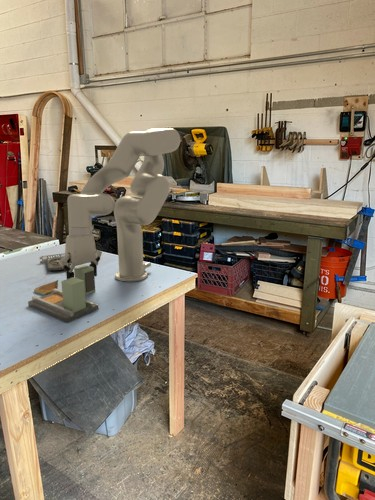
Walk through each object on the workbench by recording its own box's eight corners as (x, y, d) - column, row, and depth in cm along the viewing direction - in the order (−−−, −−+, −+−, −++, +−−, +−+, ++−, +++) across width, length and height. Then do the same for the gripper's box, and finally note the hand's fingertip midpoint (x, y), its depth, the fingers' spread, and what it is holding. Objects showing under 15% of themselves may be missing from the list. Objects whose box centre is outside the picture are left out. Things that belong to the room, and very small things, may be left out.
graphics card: (39, 255, 165) (67, 252, 169) (40, 263, 166) (68, 260, 170) (40, 267, 150) (71, 263, 154) (41, 276, 151) (72, 272, 155)
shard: (58, 283, 142) (57, 279, 142) (72, 287, 138) (71, 283, 138) (33, 292, 133) (32, 288, 133) (47, 297, 129) (47, 292, 129)
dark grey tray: (60, 294, 131) (59, 287, 130) (98, 309, 120) (98, 301, 119) (28, 305, 122) (27, 298, 121) (67, 323, 110) (66, 314, 109)
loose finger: (86, 288, 137) (84, 264, 134) (96, 291, 133) (94, 267, 131) (75, 291, 133) (74, 267, 131) (86, 295, 130) (84, 271, 127)
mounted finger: (74, 303, 120) (72, 276, 118) (85, 307, 117) (83, 280, 115) (62, 307, 117) (59, 280, 114) (73, 312, 114) (71, 284, 111)
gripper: (93, 226, 136) (94, 271, 140) (51, 233, 122) (54, 282, 127) (107, 229, 132) (108, 275, 136) (65, 236, 118) (68, 287, 122)
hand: (82, 278), depth 131 cm, fingers open, 9 cm apart
